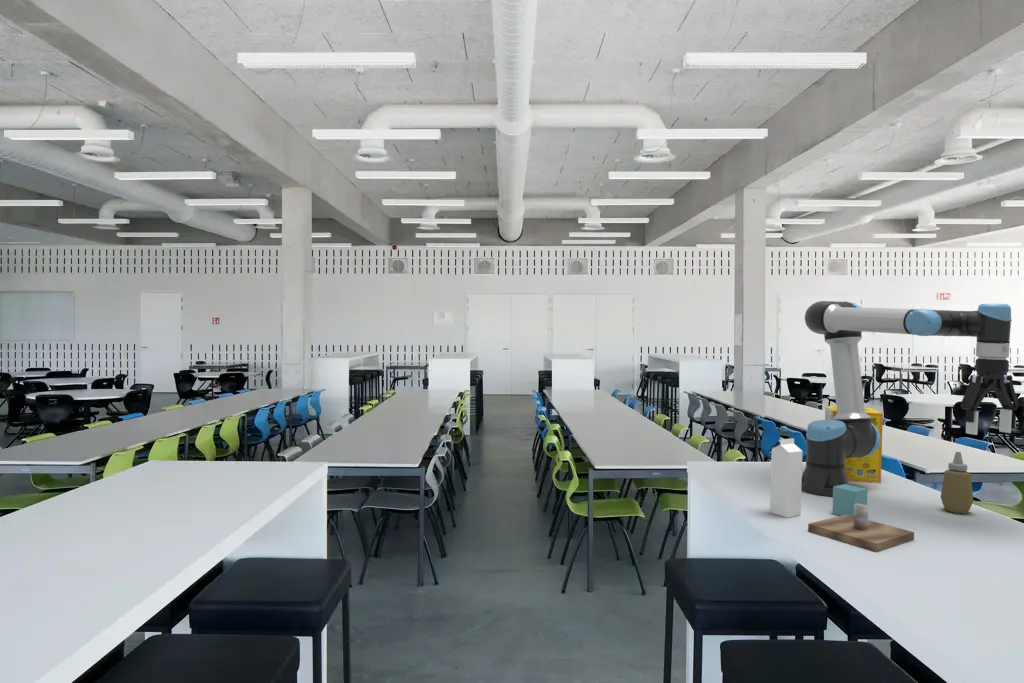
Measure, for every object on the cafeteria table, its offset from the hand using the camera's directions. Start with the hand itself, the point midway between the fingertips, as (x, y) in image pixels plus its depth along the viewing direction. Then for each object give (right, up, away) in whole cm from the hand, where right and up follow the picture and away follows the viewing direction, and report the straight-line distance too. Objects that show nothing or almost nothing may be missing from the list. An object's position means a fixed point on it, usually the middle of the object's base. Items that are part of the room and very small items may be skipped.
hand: (988, 433), depth 180 cm
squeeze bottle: (-1, -26, +12) cm, 28 cm away
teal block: (-36, -25, +6) cm, 44 cm away
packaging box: (-9, -24, +56) cm, 62 cm away
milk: (-55, -25, +6) cm, 61 cm away
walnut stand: (-43, -25, -13) cm, 52 cm away
